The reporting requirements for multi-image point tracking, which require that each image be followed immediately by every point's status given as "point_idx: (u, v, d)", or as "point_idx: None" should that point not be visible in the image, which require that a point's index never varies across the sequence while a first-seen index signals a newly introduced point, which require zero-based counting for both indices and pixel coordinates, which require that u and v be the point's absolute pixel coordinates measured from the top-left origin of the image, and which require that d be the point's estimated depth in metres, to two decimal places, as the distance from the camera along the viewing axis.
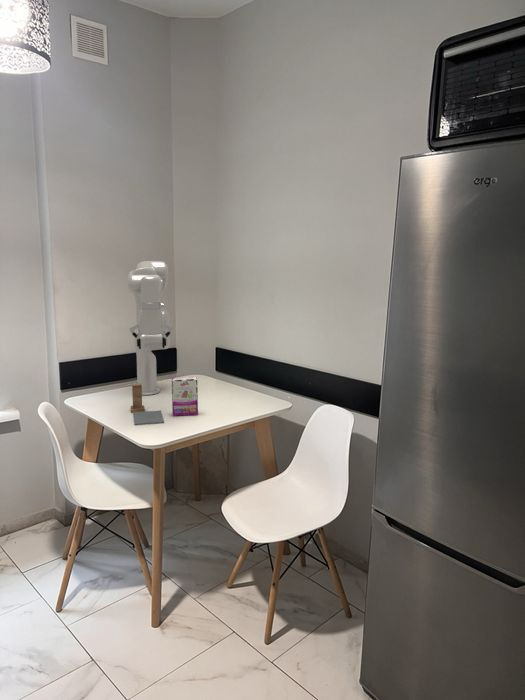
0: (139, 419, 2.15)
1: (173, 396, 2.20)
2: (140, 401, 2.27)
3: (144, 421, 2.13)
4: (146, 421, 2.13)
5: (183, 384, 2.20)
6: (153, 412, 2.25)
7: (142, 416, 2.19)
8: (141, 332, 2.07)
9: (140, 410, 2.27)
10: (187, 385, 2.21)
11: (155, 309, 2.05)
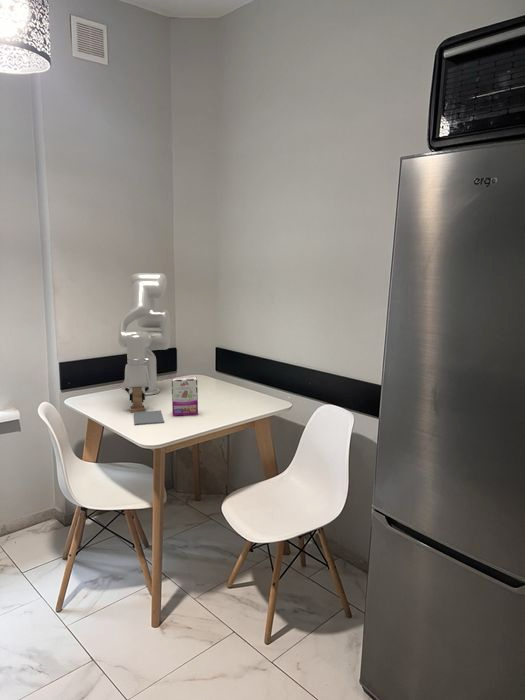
0: (139, 419, 2.15)
1: (173, 396, 2.20)
2: (140, 401, 2.27)
3: (144, 421, 2.13)
4: (146, 421, 2.13)
5: (183, 384, 2.20)
6: (153, 412, 2.25)
7: (142, 416, 2.19)
8: (127, 385, 2.24)
9: (140, 410, 2.27)
10: (187, 385, 2.21)
11: (140, 364, 2.23)
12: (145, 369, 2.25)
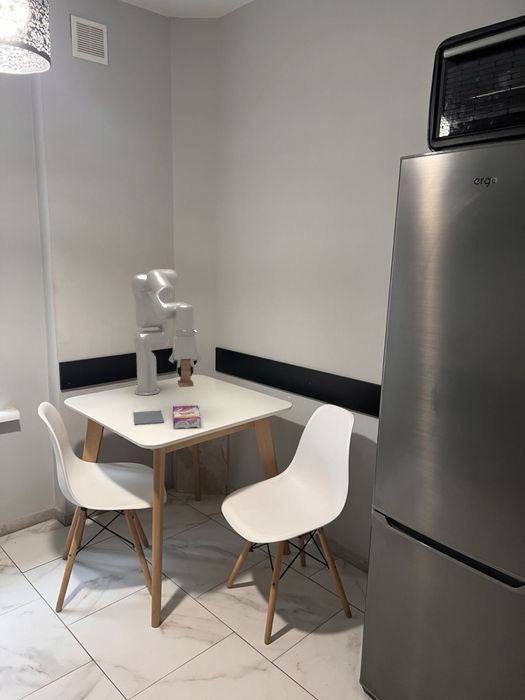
0: (139, 419, 2.15)
1: None
2: (189, 375, 2.17)
3: (144, 421, 2.13)
4: (146, 421, 2.13)
5: None
6: (153, 412, 2.25)
7: (142, 416, 2.19)
8: (176, 358, 2.15)
9: (189, 384, 2.17)
10: None
11: (189, 336, 2.13)
12: (194, 341, 2.16)
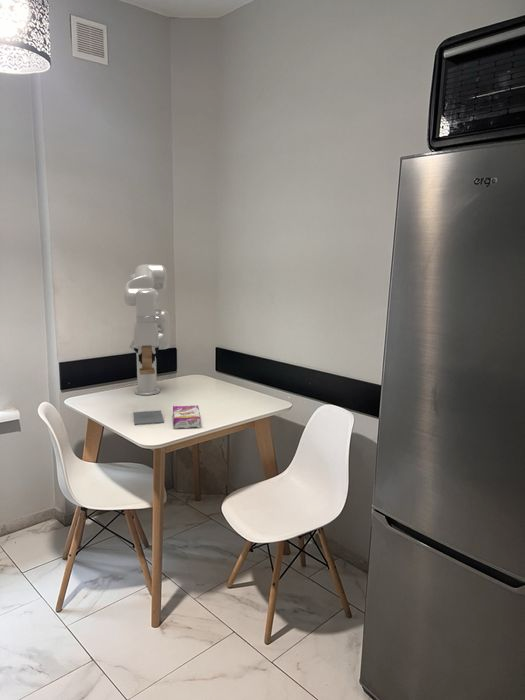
0: (139, 419, 2.15)
1: None
2: (150, 362, 2.13)
3: (144, 421, 2.13)
4: (146, 421, 2.13)
5: None
6: (153, 412, 2.25)
7: (142, 416, 2.19)
8: (136, 345, 2.10)
9: (150, 372, 2.12)
10: None
11: (150, 322, 2.09)
12: (155, 327, 2.11)
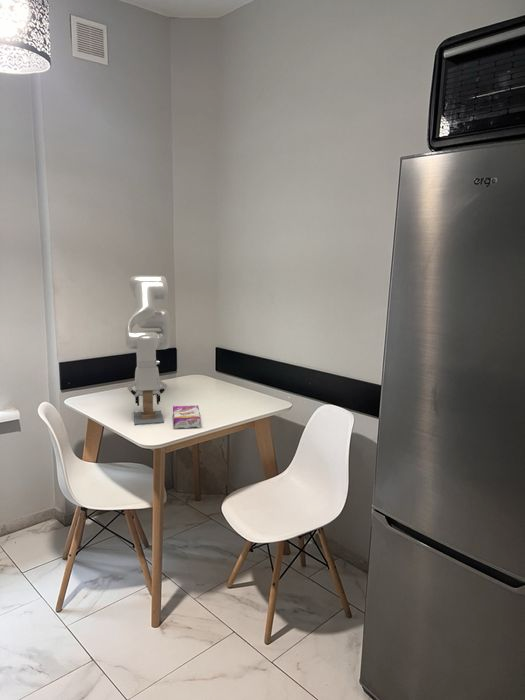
0: (139, 419, 2.15)
1: None
2: (151, 407, 2.16)
3: (144, 421, 2.13)
4: (146, 421, 2.13)
5: None
6: None
7: None
8: (137, 389, 2.14)
9: (151, 416, 2.16)
10: None
11: (151, 367, 2.12)
12: (156, 372, 2.14)
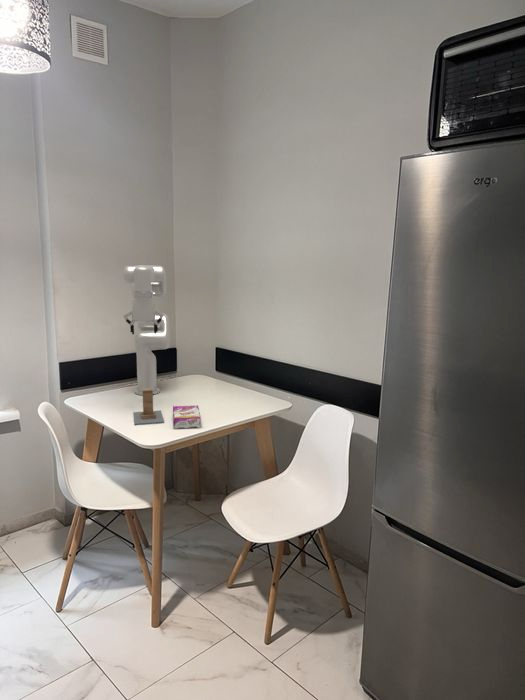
0: (139, 419, 2.15)
1: None
2: (151, 407, 2.16)
3: (144, 421, 2.13)
4: (146, 421, 2.13)
5: None
6: None
7: None
8: (134, 319, 2.24)
9: (151, 416, 2.16)
10: None
11: (147, 297, 2.22)
12: (152, 303, 2.24)
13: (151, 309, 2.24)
